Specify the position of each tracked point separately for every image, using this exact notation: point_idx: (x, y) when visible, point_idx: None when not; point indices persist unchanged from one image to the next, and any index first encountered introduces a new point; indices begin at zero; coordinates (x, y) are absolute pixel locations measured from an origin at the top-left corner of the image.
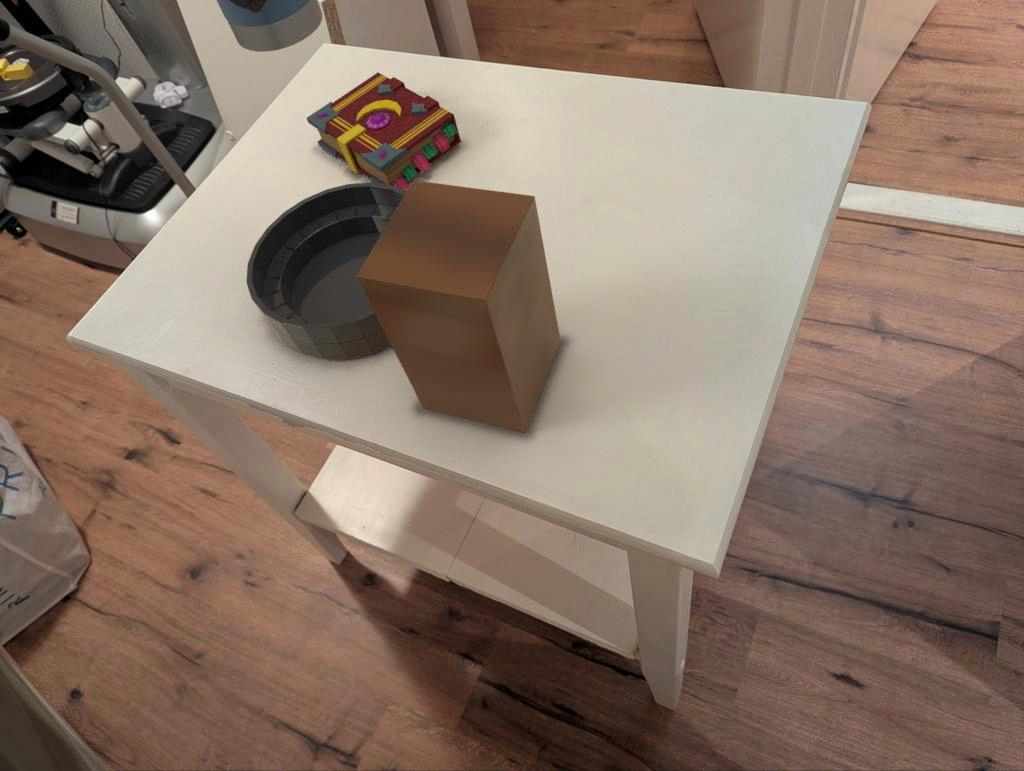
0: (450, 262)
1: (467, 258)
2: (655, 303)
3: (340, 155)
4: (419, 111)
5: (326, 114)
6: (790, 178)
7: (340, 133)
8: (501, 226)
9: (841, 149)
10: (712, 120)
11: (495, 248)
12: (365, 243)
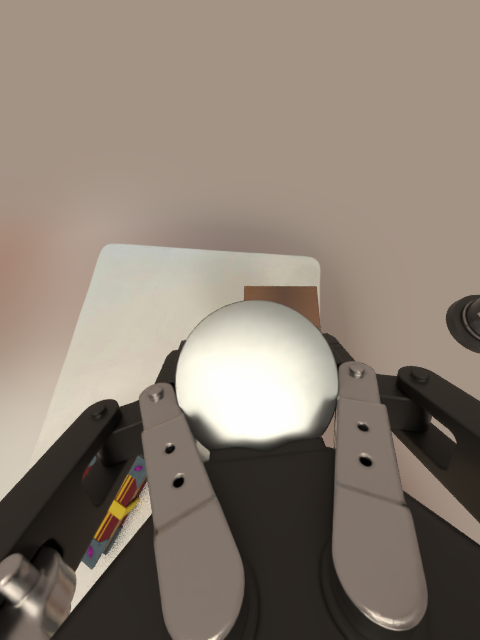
0: (298, 311)
1: (294, 303)
2: (219, 295)
3: (122, 522)
4: (95, 457)
5: (89, 548)
6: (144, 260)
7: (112, 520)
8: (268, 294)
9: (127, 246)
10: (103, 296)
11: (283, 292)
12: (202, 458)
